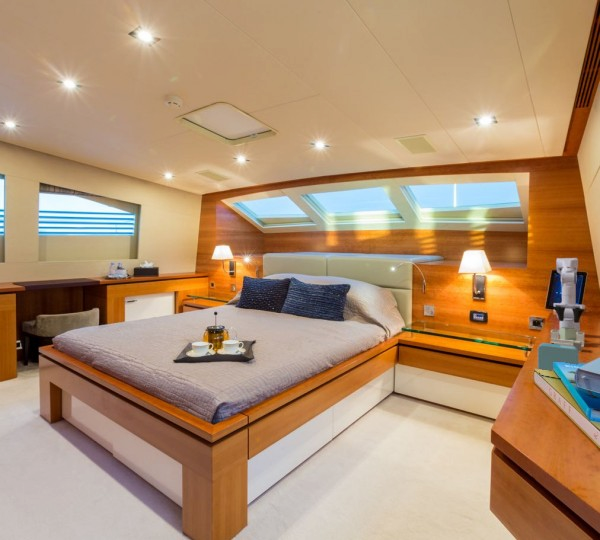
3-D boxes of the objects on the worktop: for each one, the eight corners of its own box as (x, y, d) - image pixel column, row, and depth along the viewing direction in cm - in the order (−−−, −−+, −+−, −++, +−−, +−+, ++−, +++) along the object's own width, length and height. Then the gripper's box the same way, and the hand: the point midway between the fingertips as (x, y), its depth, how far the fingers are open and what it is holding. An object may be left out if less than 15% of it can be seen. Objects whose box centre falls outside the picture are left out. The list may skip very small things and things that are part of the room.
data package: (578, 379, 131) (578, 346, 131) (577, 382, 128) (577, 349, 127) (539, 372, 139) (539, 342, 139) (537, 375, 136) (537, 344, 135)
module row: (552, 339, 191) (552, 328, 191) (584, 343, 183) (584, 331, 183) (550, 343, 184) (550, 331, 184) (583, 347, 175) (583, 334, 175)
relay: (573, 348, 173) (573, 340, 172) (581, 349, 171) (581, 340, 170) (573, 351, 169) (573, 342, 169) (581, 352, 167) (581, 343, 167)
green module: (560, 339, 193) (560, 326, 192) (571, 339, 192) (571, 326, 191) (565, 341, 188) (565, 328, 188) (576, 341, 187) (576, 328, 187)
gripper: (549, 294, 190) (549, 320, 189) (577, 296, 176) (577, 323, 175) (558, 294, 192) (559, 320, 191) (587, 296, 178) (587, 323, 178)
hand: (568, 321), depth 184 cm, fingers open, 7 cm apart
